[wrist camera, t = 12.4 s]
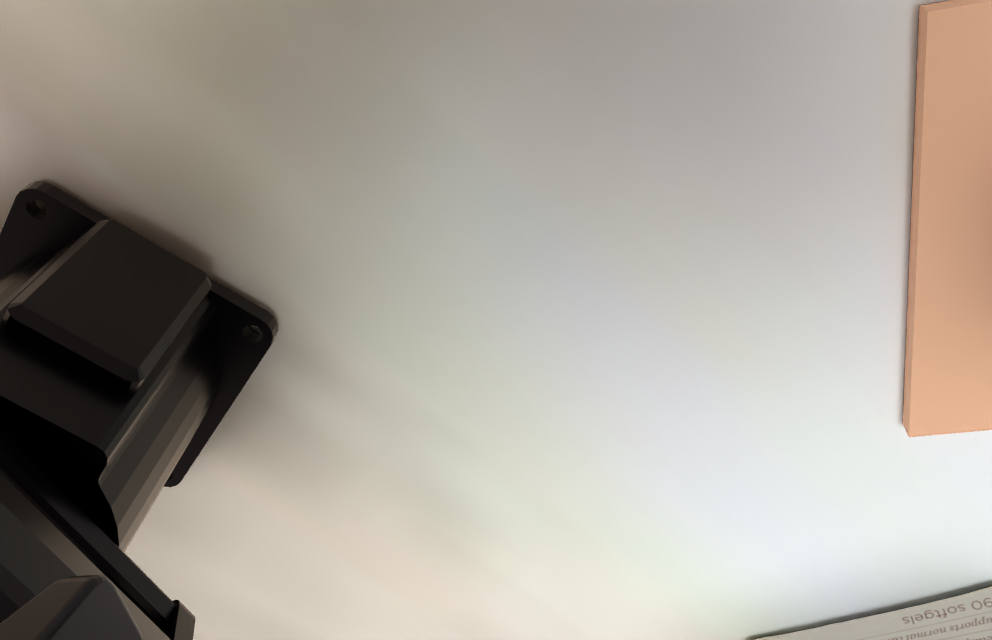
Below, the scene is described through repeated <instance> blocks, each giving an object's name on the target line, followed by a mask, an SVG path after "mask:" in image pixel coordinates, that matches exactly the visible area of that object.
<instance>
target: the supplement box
mask: <svg viewBox="0 0 992 640" xmlns="http://www.w3.org/2000/svg"><path fill="white" fill-rule="evenodd" d="M755 640H992V586H991V587H988V588H984V589H981V590H977V591H974V592H970V593H967V594H963V595H959V596H955V597H951V598H947V599H943V600H938V601H934V602H930V603H926V604H922V605H918V606H913V607H909V608H905V609H900V610H896V611H892V612H887V613H882V614H878V615H873V616H868V617H863V618H858V619H854V620H849V621H845V622H840V623H835V624H829V625H825V626H821V627H817V628H812V629H807V630H802V631H797V632H792V633H787V634H782V635H777V636H768V637H763V638H758V639H755Z"/></svg>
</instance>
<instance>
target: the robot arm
mask: <svg viewBox="0 0 992 640" xmlns="http://www.w3.org/2000/svg"><path fill="white" fill-rule="evenodd" d="M35 199H38V200H41V201H42V202H43V203H44V204H45V205H46V207H47V209H48V212H46V211H43V210H42V209H40V208H39V207H38V206H37V204H36V202H35ZM249 325H253V326H256V327H258V328H259V329H260V330H261V331H262V333H263V334H259V335H258V334H255V333H253V332H252V331H251V330H250V329H249V327H248V326H249ZM277 332H278V326H277V322H276V321H275V319H274V317H273V316H272V315H271V314H269V313H268V312H267V311H265V310H264V309H262V308H260V307H258V306H257V305H255V304H253V303H252V302H250V301H248V300H247V299H245V298H243V297H241V296H240V295H238V294H236V293H235V292H233V291H231V290H230V289H228V288H226V287H225V286H223V285H221V284H219V283H218V282H216V281H214V280H213V279H211V278H209V277H208V276H207V275H206V274H205V273H203V272H202V271H200V270H198V269H196V268H195V267H193V266H191V265H190V264H188V263H186V262H185V261H183V260H181V259H179V258H178V257H176V256H174V255H173V254H171V253H169V252H168V251H166V250H164V249H163V248H161V247H159V246H157V245H156V244H154V243H152V242H151V241H149V240H147V239H146V238H144V237H142V236H141V235H139V234H137V233H135V232H134V231H132V230H130V229H129V228H127V227H125V226H124V225H122V224H120V223H118V222H117V221H115V220H111V219H109V218H108V217H106V216H104V215H102V214H101V213H99V212H97V211H96V210H94V209H92V208H91V207H89V206H87V205H86V204H84V203H82V202H80V201H79V200H77V199H75V198H74V197H72V196H70V195H69V194H67V193H65V192H63V191H62V190H60V189H58V188H57V187H55V186H53V185H51V184H48V183H46V182H34V183H32V184H29V185H28V186H27V187H25V188H24V189H23V190H21V191H20V192H19V194H18V195H17V196H16V198H15V200H14V203H13V205H12V208H11V210H10V212H9V215H8V217H7V220H6V222H5V224H4V227H3V229H2V232H1V234H0V640H193V633H194V626H195V616H194V615H193V614H192V613H191V612H190V611H189V610H188V609H187V608H186V607H185V606H184V605H183V604H182V603H181V602H180V601H178V600H173V601H172V600H171V599H170V598H169V597H168V596H167V595H166V594H165V593H164V592H163V591H162V590H161V589H160V588H159V587H158V586H157V585H156V584H155V583H154V582H153V581H152V580H151V579H150V578H149V577H148V576H147V575H146V574H145V573H144V572H143V571H142V570H141V569H140V568H139V567H138V566H137V565H136V564H135V563H134V562H133V561H132V560H131V559H130V558H129V557H128V556H127V555H126V554H125V553H124V552H125V550H126V548H127V547H128V545H129V543H130V542H131V540H132V538H133V537H134V535H135V533H136V532H137V530H138V528H139V527H140V525H141V523H142V522H143V520H144V518H145V517H146V515H147V513H148V512H149V510H150V508H151V506H152V505H153V503H154V501H155V500H156V498H157V496H158V495H159V493H160V491H161V490H162V488H163V486H165V487H172V486H176V485H178V484H179V483H180V482H181V481H182V479H183V478H184V476H185V474H186V473H187V471H188V470H189V468H190V467H191V465H192V464H193V462H194V461H195V459H196V458H197V456H198V455H199V453H200V452H201V450H202V449H203V447H204V446H205V444H206V443H207V441H208V440H209V438H210V437H211V435H212V434H213V432H214V431H215V429H216V428H217V426H218V425H219V423H220V422H221V420H222V418H223V417H224V415H225V414H226V412H227V411H228V409H229V408H230V406H231V405H232V403H233V402H234V400H235V399H236V397H237V396H238V394H239V393H240V391H241V390H242V388H243V387H244V385H245V384H246V382H247V381H248V379H249V378H250V376H251V375H252V373H253V372H254V370H255V369H256V367H257V366H258V364H259V362H260V361H261V359H262V358H263V356H264V355H265V353H266V352H267V350H268V349H269V347H270V346H271V344H272V342H273V341H274V339H275V337H276V335H277Z"/></svg>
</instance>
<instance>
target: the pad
mask: <svg viewBox="0 0 992 640" xmlns="http://www.w3.org/2000/svg"><path fill="white" fill-rule="evenodd" d="M903 425H904V428H905V430H906V432H907V434H908V436H909V437H916V436H927V435H939V434H950V433H961V432H973V431H984V430H992V0H950V1H944V2H938V3H932V4H926V5H920V8H919V33H918V58H917V84H916V109H915V134H914V159H913V184H912V209H911V234H910V259H909V284H908V309H907V334H906V359H905V384H904V409H903Z"/></svg>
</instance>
